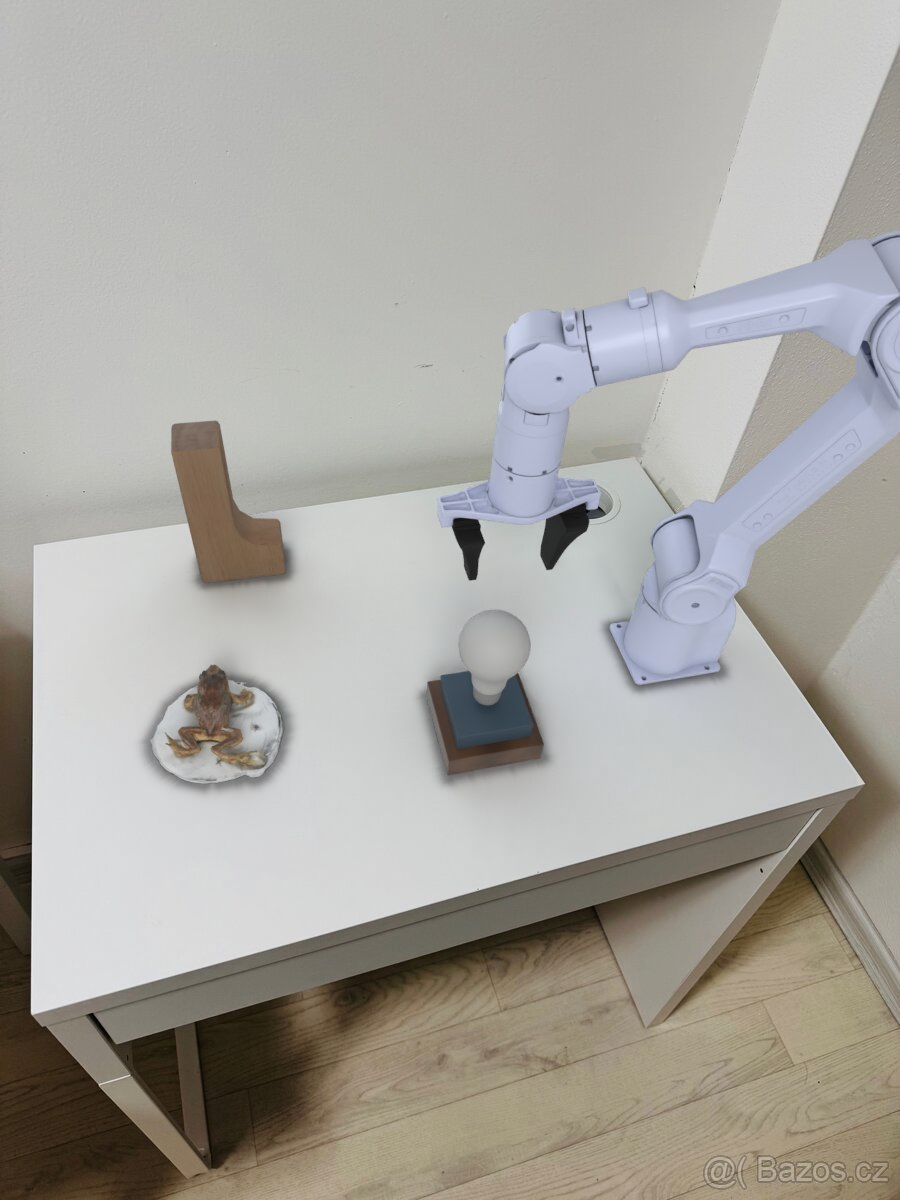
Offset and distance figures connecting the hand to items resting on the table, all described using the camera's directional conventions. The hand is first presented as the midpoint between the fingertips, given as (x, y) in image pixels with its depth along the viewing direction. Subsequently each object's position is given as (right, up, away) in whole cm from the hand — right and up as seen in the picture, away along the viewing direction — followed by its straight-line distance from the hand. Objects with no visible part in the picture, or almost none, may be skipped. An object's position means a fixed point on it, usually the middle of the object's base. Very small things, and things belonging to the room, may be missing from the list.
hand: (508, 567), depth 80 cm
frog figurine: (-27, -15, -2) cm, 31 cm away
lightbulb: (-2, -12, -3) cm, 13 cm away
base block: (-3, -15, 0) cm, 15 cm away
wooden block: (-28, +1, +12) cm, 31 cm away
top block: (-2, -14, -2) cm, 14 cm away
